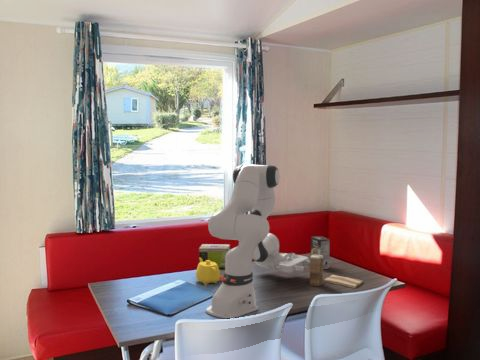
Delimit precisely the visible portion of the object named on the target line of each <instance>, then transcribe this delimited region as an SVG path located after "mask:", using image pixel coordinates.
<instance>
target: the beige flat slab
mask: <svg viewBox="0 0 480 360" xmlns="http://www.w3.org/2000/svg"><path fill="white" fill-rule="evenodd" d="M323 283H329V284H333V285H338V286H343V287H347V288H348V287H349V288H352V289H355V288H357V287H358V286H360V285H361V284H363V283H364V280H363V279H362V280H361V279H358V278H352V277H346V276H340V275H335V274H331V275H329V276H328V277H326V278H324V279H323Z"/></svg>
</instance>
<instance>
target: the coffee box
mask: <svg viewBox="0 0 480 360" xmlns="http://www.w3.org/2000/svg"><path fill="white" fill-rule="evenodd" d="M330 241H331V240H330V238H327V237H325V236H321V235H319V236H318V235H316V236H315V235H314V236H310V256H312V255H314V254H316V255H322V256H323V270H326V269H328V268H329V269H330V250H331V248H330V247H331V246H330V245H331V243H330Z"/></svg>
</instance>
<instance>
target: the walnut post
mask: <svg viewBox="0 0 480 360" xmlns="http://www.w3.org/2000/svg"><path fill="white" fill-rule="evenodd" d="M309 261H310V266H309V286H313V285H314V287H317V286H319V287H320V286H323V285H324V284H323V283H324V279H323V278H324V275H323V274H324V269H323V256H322V255H316V254H314V255H312V256H311V255H310V257H309Z"/></svg>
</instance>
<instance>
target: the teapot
mask: <svg viewBox="0 0 480 360" xmlns="http://www.w3.org/2000/svg"><path fill="white" fill-rule="evenodd" d="M199 259H200V263H199V262H198V264H197V267H196V270H195V278H196V280H197V281H198V282H199V283H203V284H204V286H207V285H209V284H210V283H211V284H212V283H213V284H218V282H219V276H220V270H219V267H218V265H217V264H216V263H215V262H212V261H210V260H206V262H203V260H202V258H201V257H199V256H198V260H199Z"/></svg>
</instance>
